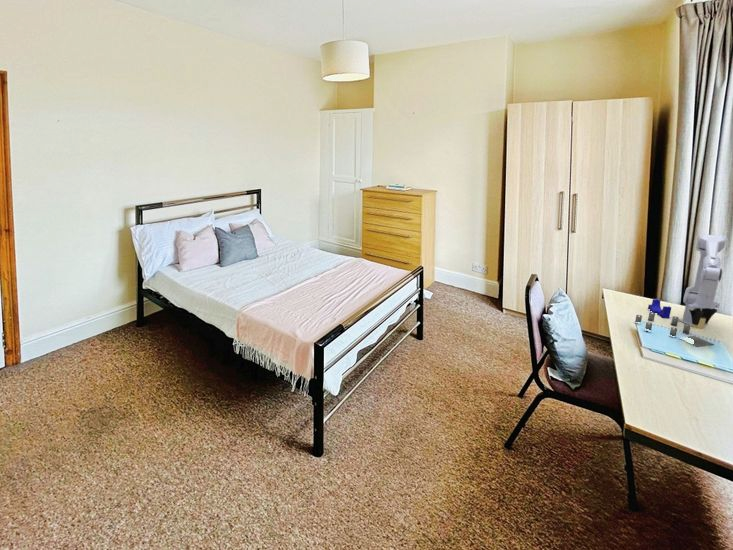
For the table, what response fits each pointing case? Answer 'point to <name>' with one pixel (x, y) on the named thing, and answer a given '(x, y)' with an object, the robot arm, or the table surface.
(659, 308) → the cable clip
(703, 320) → the brass nut
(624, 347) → the table surface
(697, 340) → the mat
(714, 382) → the table surface
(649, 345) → the table surface
